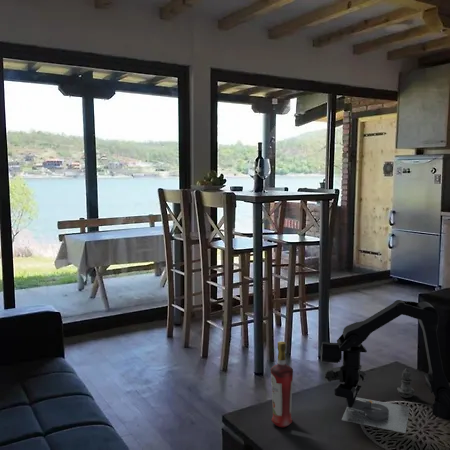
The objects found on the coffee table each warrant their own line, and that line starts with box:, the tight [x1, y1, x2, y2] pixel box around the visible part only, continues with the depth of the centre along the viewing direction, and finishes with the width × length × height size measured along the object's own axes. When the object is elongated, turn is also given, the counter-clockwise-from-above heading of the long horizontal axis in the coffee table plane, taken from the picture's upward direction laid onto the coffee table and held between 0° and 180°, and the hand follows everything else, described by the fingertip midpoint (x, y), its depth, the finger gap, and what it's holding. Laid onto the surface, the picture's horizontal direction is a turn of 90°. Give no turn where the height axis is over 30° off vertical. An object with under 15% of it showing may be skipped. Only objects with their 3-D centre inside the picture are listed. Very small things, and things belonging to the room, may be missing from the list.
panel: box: [341, 396, 411, 434], centre depth 163 cm, size 20×18×1 cm
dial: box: [345, 398, 389, 421], centre depth 163 cm, size 14×8×4 cm, turn 57°
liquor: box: [270, 340, 294, 428], centre depth 158 cm, size 7×7×28 cm
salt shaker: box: [397, 367, 415, 399], centre depth 174 cm, size 6×6×12 cm
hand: (350, 407), depth 164 cm, fingers closed
